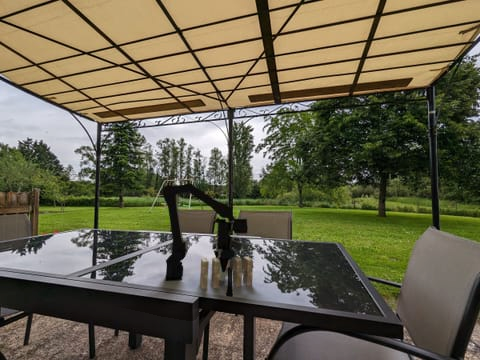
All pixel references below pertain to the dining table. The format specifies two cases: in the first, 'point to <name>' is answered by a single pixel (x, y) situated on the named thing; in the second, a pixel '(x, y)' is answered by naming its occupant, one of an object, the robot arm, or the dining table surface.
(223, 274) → the domino
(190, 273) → the dining table surface
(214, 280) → the domino
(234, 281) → the domino
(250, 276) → the domino
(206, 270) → the domino
